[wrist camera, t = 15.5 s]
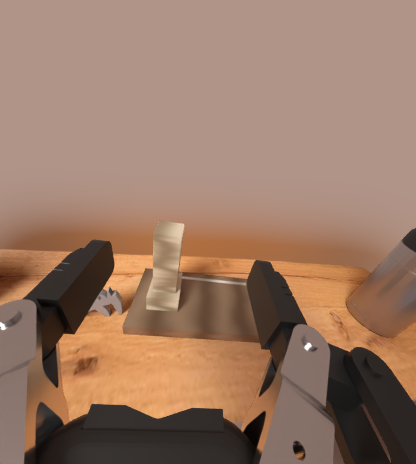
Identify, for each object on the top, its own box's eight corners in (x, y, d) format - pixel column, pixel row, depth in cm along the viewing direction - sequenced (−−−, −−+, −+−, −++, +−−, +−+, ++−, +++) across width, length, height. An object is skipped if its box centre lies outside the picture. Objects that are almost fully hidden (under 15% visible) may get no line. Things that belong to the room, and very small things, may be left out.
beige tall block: (181, 280, 34) (189, 218, 27) (177, 311, 29) (186, 243, 21) (155, 278, 34) (157, 214, 27) (146, 309, 28) (145, 238, 21)
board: (262, 287, 39) (266, 280, 38) (283, 344, 29) (289, 337, 28) (145, 275, 36) (145, 268, 35) (123, 333, 26) (122, 326, 25)
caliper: (123, 309, 30) (120, 284, 26) (122, 315, 29) (119, 290, 26) (-49, 335, 23) (-82, 306, 19) (-57, 344, 22) (-93, 315, 19)
